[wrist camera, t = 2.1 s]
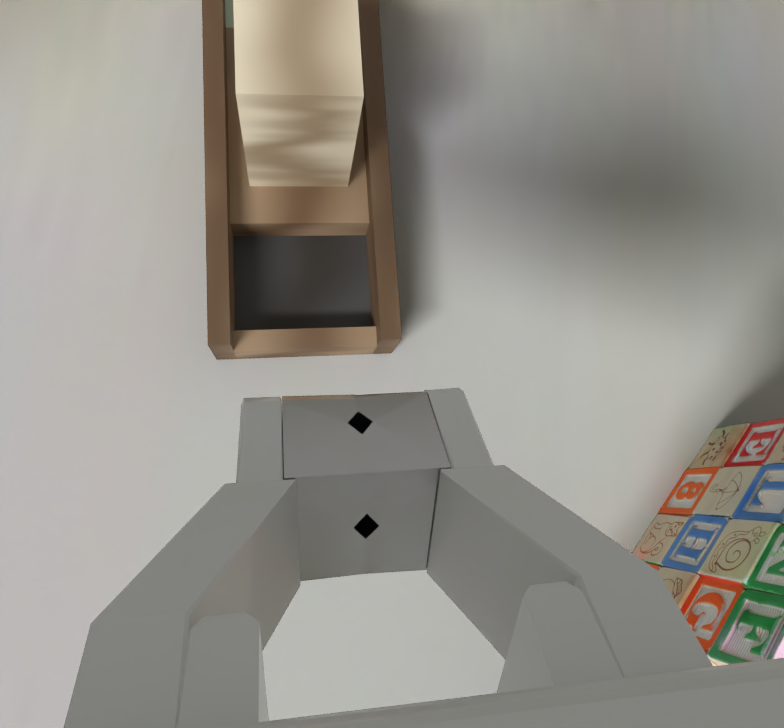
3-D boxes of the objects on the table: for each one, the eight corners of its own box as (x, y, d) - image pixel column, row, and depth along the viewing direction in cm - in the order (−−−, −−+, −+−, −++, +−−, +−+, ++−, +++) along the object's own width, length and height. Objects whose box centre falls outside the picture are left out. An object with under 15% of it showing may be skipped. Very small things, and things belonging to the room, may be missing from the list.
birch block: (249, 186, 33) (235, 93, 25) (246, 96, 34) (232, -20, 26) (347, 186, 34) (363, 96, 26) (342, 98, 35) (356, -14, 27)
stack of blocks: (594, 845, 32) (776, 1064, 20) (494, 763, 32) (615, 932, 20) (799, 493, 37) (1044, 497, 25) (713, 423, 37) (916, 393, 25)
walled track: (216, 359, 33) (207, 344, 30) (208, -73, 37) (200, -129, 34) (391, 353, 34) (401, 338, 31) (363, -64, 39) (369, -116, 35)
